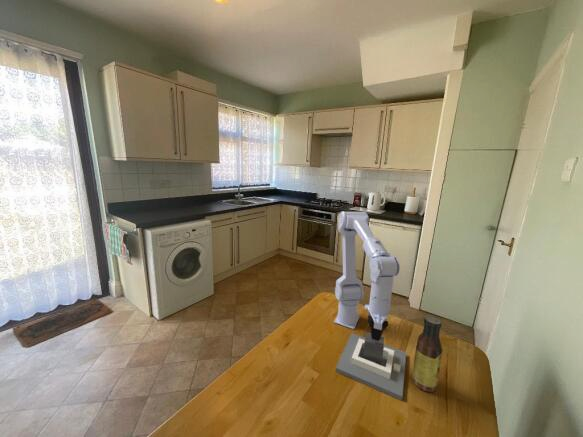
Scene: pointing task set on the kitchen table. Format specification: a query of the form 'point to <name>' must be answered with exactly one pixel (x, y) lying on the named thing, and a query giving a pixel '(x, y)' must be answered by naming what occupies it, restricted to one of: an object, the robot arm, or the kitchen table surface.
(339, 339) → the kitchen table surface
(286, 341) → the kitchen table surface
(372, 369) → the socket
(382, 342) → the plug
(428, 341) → the sauce bottle
